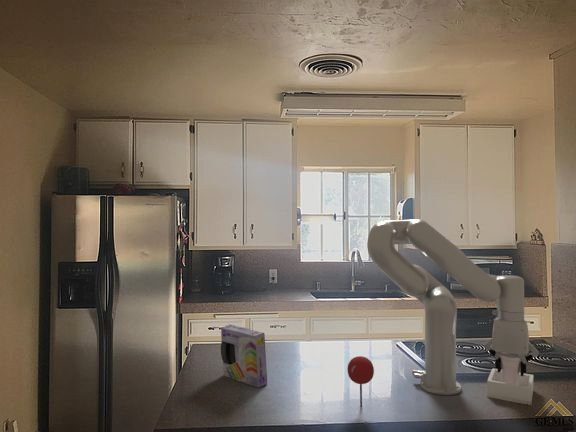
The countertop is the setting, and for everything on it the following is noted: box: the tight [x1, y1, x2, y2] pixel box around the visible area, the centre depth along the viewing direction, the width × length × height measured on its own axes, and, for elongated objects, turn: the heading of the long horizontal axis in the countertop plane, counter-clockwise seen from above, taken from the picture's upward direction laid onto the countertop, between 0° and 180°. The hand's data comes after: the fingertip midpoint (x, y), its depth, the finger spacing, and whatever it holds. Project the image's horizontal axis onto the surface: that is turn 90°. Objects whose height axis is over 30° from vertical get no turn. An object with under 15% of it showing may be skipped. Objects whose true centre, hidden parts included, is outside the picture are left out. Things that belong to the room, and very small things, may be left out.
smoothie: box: [499, 352, 522, 385], centre depth 141 cm, size 6×6×14 cm
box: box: [486, 368, 535, 406], centre depth 142 cm, size 12×12×5 cm
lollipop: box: [347, 355, 375, 408], centre depth 133 cm, size 8×8×15 cm
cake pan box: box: [220, 324, 268, 388], centre depth 155 cm, size 19×5×18 cm, turn 47°
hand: (510, 372), depth 142 cm, fingers closed on smoothie, 5 cm apart
